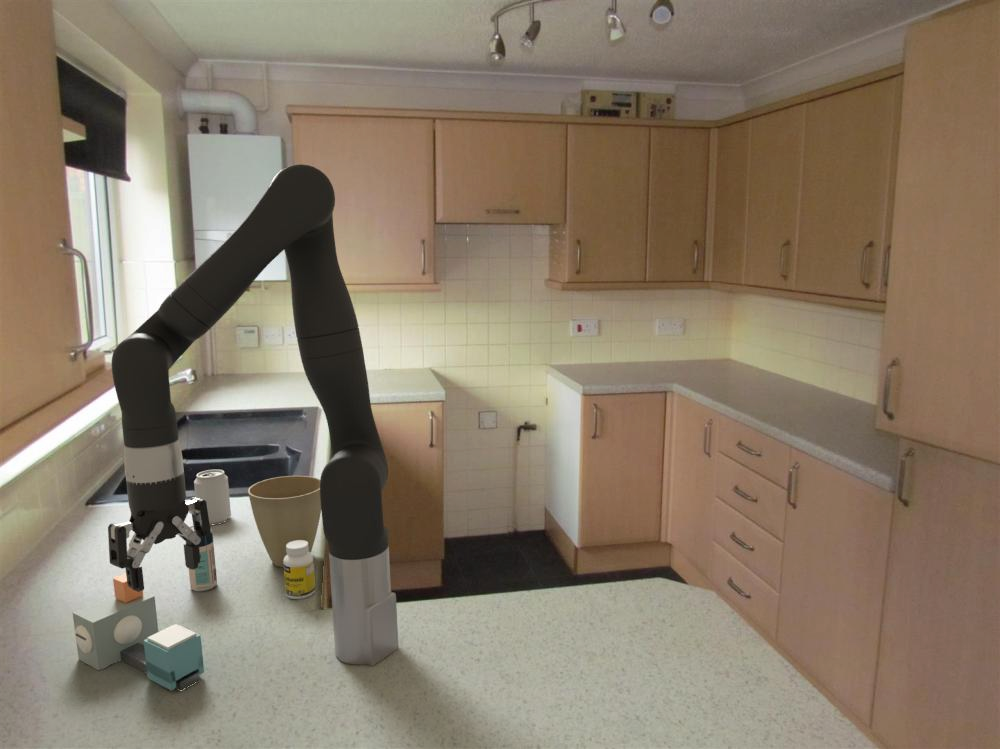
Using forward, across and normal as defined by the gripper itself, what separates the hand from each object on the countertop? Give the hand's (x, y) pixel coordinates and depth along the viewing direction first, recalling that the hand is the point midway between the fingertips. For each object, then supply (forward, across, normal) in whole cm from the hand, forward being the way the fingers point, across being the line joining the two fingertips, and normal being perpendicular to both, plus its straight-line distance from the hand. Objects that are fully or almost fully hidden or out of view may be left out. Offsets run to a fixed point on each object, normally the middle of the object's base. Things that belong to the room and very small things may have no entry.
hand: (166, 578), depth 107 cm
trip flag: (+8, +2, +15) cm, 17 cm away
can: (+16, +44, +53) cm, 70 cm away
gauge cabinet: (+16, 0, +15) cm, 22 cm away
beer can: (+16, +21, +24) cm, 35 cm away
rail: (+16, 0, +4) cm, 17 cm away
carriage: (+16, 0, 0) cm, 16 cm away
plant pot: (+16, +38, +19) cm, 46 cm away
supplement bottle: (+16, +29, +6) cm, 34 cm away
